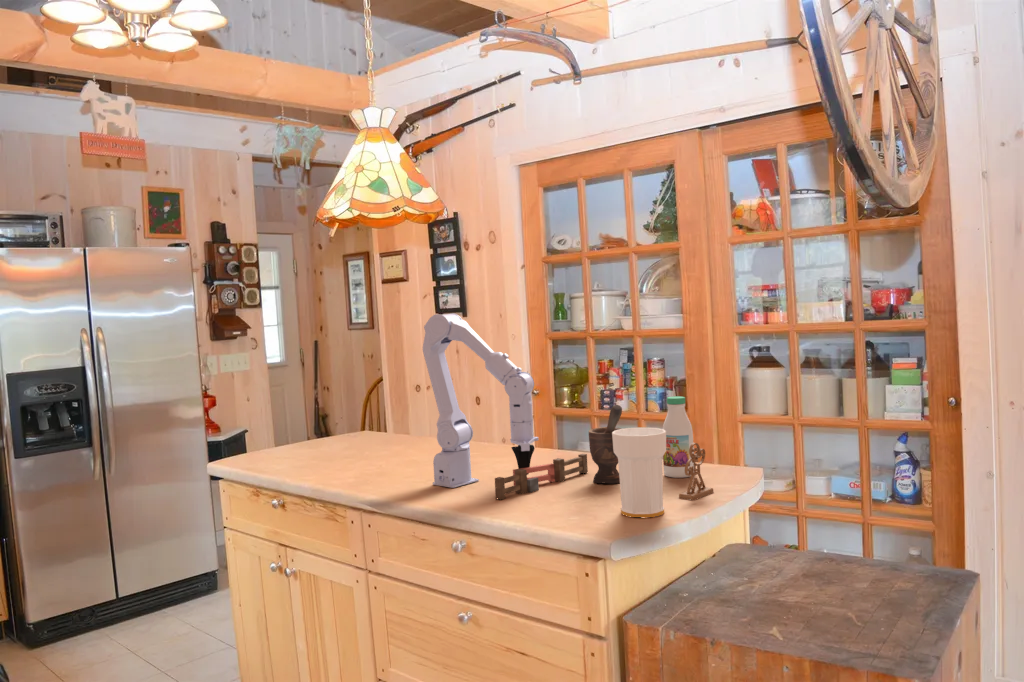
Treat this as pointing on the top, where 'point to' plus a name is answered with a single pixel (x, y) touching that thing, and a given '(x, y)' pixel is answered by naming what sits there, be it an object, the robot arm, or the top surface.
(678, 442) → the milk bottle
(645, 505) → the cup
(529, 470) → the gate
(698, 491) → the gingerbread man figurine
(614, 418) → the mortar and pestle
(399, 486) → the top surface
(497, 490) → the fence
